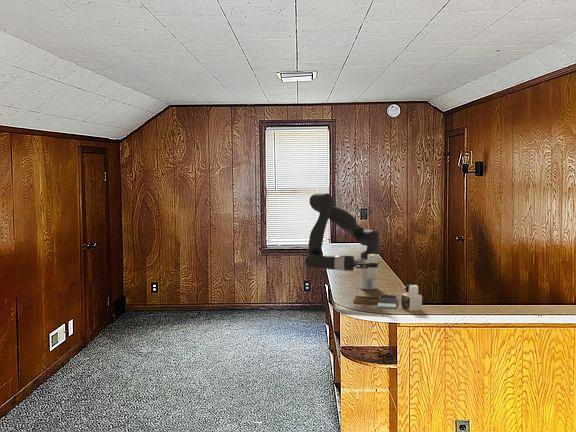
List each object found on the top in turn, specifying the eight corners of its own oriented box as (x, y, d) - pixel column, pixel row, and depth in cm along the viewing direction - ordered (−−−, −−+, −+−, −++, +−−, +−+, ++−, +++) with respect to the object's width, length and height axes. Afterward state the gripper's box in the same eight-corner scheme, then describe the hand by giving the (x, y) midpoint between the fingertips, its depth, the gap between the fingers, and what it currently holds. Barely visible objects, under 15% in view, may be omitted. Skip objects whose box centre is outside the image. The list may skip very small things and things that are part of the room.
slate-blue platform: (378, 304, 299) (378, 302, 299) (396, 305, 297) (396, 303, 297) (377, 307, 292) (377, 305, 292) (395, 308, 290) (395, 306, 289)
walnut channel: (355, 299, 311) (355, 295, 311) (378, 300, 308) (378, 296, 308) (353, 302, 302) (353, 299, 302) (377, 304, 299) (377, 300, 299)
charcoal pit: (380, 300, 308) (380, 294, 307) (396, 301, 306) (396, 295, 305) (378, 304, 299) (378, 298, 299) (396, 305, 297) (396, 299, 297)
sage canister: (367, 277, 303) (368, 253, 302) (377, 277, 302) (378, 254, 301) (366, 279, 298) (367, 255, 297) (376, 279, 297) (377, 255, 296)
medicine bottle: (401, 308, 291) (401, 283, 290) (413, 306, 294) (414, 282, 293) (409, 311, 285) (409, 286, 284) (421, 310, 287) (422, 285, 286)
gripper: (342, 257, 296) (376, 259, 292) (346, 253, 310) (379, 255, 305) (342, 272, 296) (376, 274, 292) (346, 268, 310) (379, 269, 306)
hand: (377, 264), depth 299 cm, fingers closed on sage canister, 5 cm apart
